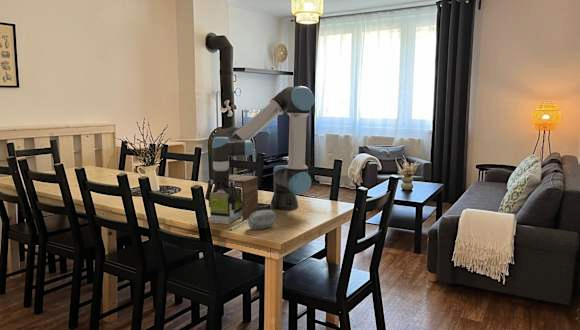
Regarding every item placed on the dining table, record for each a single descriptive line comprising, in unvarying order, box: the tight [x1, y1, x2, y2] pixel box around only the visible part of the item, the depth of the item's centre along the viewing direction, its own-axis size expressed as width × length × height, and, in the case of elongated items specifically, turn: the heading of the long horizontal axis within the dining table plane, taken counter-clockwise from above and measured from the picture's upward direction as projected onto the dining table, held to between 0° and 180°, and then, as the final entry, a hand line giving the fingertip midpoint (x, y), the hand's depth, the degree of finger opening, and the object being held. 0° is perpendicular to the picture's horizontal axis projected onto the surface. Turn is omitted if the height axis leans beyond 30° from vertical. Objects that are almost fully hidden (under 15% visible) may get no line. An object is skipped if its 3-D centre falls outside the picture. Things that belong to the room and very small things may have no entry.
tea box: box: [209, 187, 243, 225], centre depth 220 cm, size 15×10×15 cm
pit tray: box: [258, 202, 272, 211], centre depth 241 cm, size 22×7×3 cm, turn 66°
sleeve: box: [218, 173, 259, 221], centre depth 228 cm, size 16×14×19 cm
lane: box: [190, 215, 249, 230], centre depth 215 cm, size 23×16×1 cm
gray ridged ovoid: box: [247, 209, 277, 231], centre depth 207 cm, size 14×10×10 cm
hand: (222, 215), depth 216 cm, fingers closed on tea box, 10 cm apart
